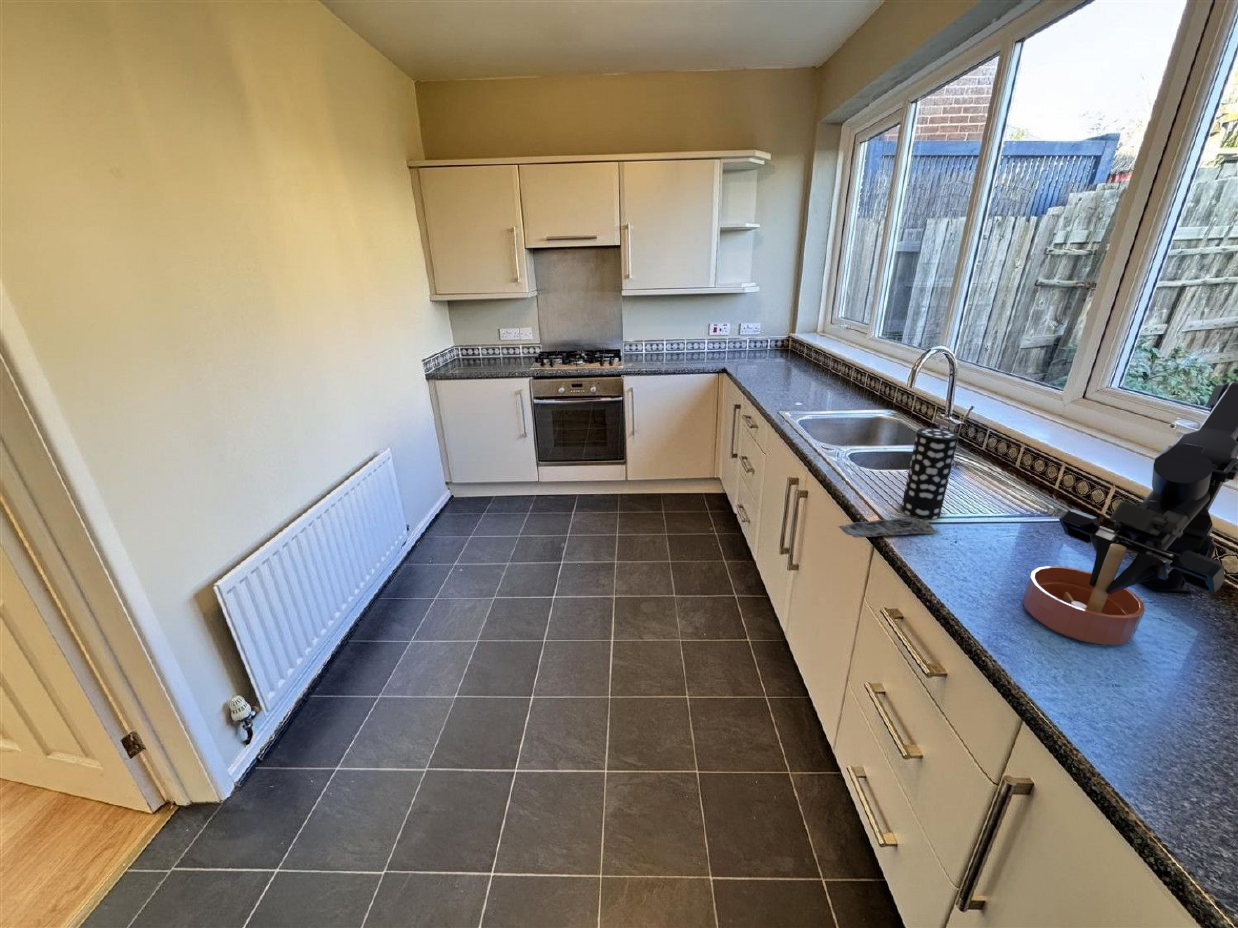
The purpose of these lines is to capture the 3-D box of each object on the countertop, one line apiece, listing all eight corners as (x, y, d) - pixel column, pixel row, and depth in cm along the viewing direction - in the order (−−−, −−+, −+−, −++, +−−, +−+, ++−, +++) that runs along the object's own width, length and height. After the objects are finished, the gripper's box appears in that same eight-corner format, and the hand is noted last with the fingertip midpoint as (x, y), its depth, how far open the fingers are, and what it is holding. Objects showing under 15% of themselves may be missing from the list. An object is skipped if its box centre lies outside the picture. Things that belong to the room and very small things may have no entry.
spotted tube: (919, 501, 128) (935, 426, 121) (948, 515, 121) (968, 436, 114) (893, 506, 126) (908, 430, 119) (921, 521, 119) (939, 441, 111)
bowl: (1086, 595, 92) (1097, 567, 90) (1156, 650, 79) (1171, 619, 77) (1003, 592, 93) (1011, 564, 91) (1058, 646, 80) (1070, 615, 78)
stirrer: (1057, 596, 90) (1085, 520, 84) (1071, 598, 89) (1100, 521, 84) (1081, 630, 82) (1113, 548, 76) (1096, 633, 81) (1130, 550, 75)
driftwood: (920, 520, 119) (922, 512, 118) (940, 535, 113) (942, 526, 112) (836, 527, 117) (837, 519, 117) (851, 542, 111) (852, 534, 110)
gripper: (1084, 463, 83) (1021, 536, 83) (1251, 511, 66) (1172, 602, 67) (1096, 498, 88) (1038, 566, 88) (1253, 550, 72) (1181, 633, 72)
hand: (1099, 588), depth 79 cm, fingers closed on stirrer, 2 cm apart
